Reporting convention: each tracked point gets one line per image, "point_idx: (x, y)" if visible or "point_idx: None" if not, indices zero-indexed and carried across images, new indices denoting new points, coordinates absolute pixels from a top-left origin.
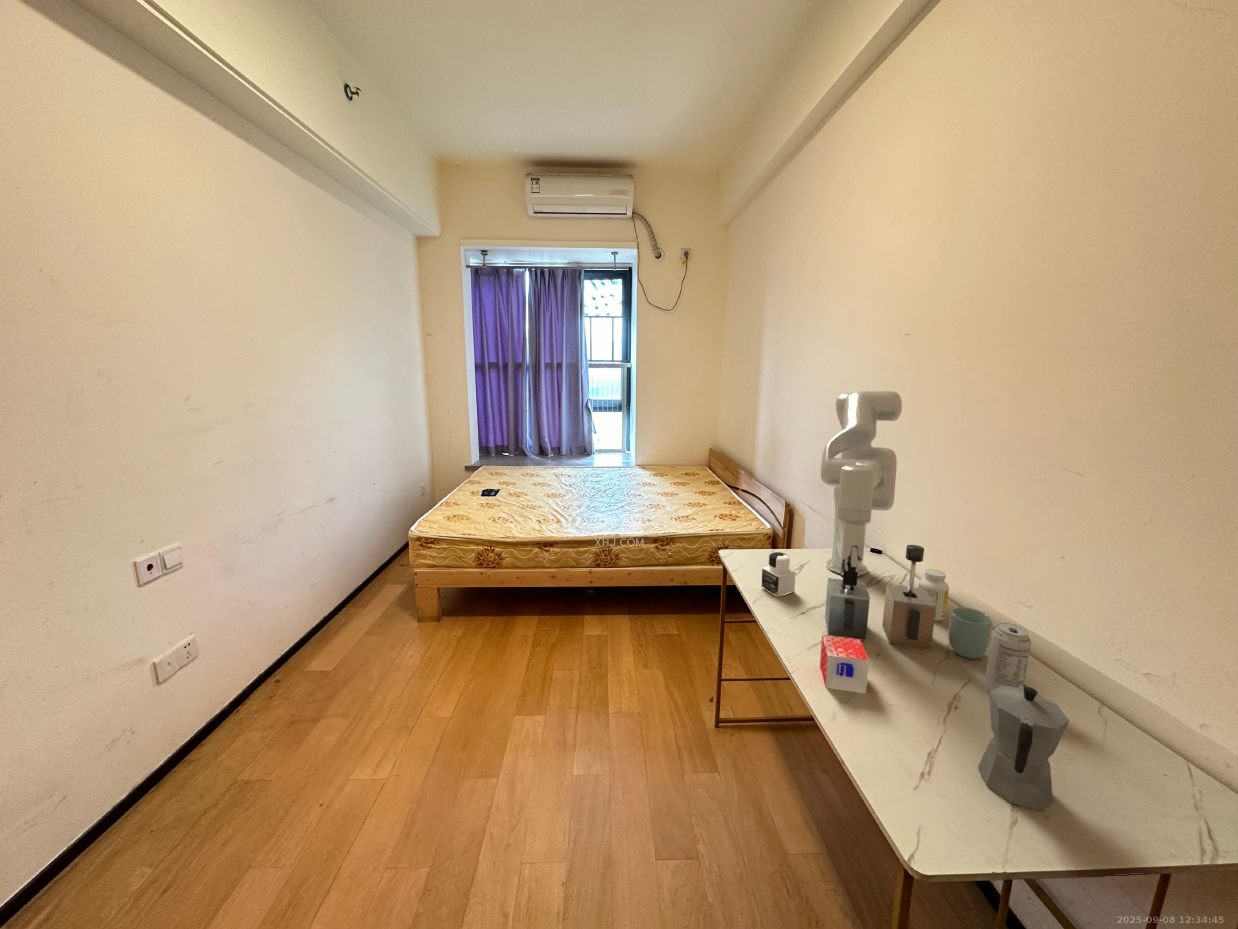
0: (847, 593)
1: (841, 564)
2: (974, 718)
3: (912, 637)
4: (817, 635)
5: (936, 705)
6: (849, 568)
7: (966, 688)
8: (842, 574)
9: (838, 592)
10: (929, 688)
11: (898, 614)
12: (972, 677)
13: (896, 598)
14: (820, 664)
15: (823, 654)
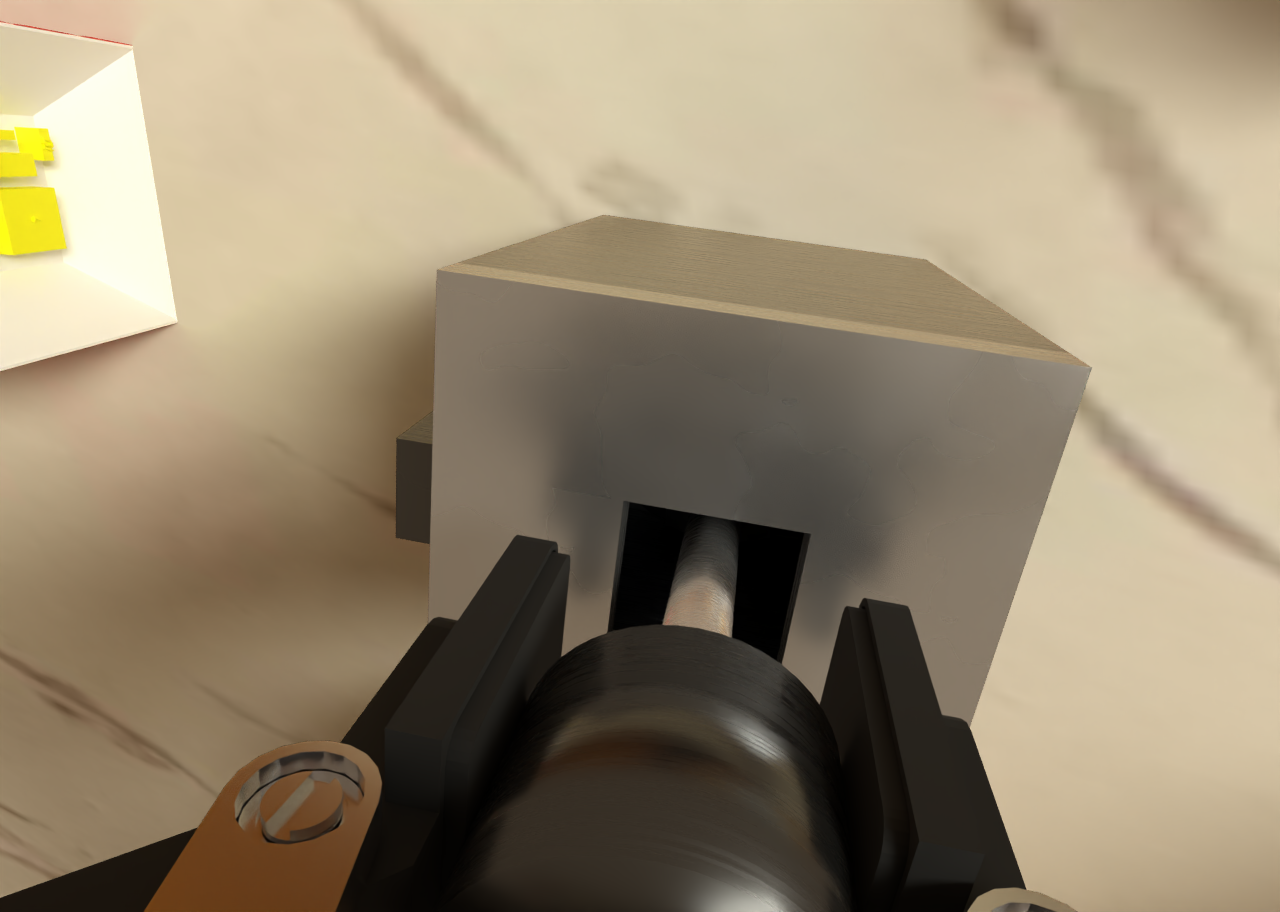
0: (472, 526)
1: (957, 802)
2: (22, 744)
3: None
4: (570, 110)
5: (38, 635)
6: (12, 908)
7: None
8: (620, 636)
9: (479, 400)
10: (164, 664)
11: None
12: None
13: None
14: (119, 46)
15: (15, 48)
